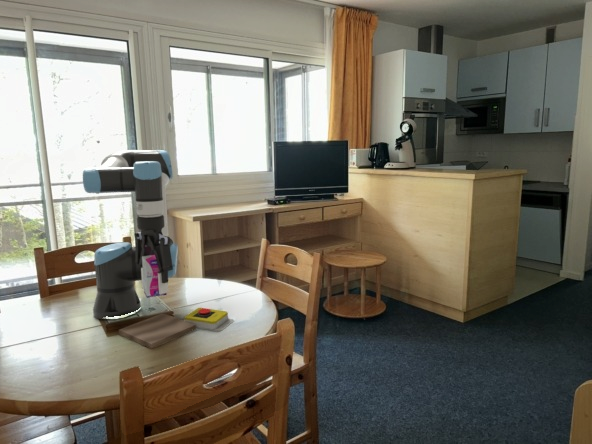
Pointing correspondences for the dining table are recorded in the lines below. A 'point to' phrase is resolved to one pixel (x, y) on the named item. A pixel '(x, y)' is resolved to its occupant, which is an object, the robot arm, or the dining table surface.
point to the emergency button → (209, 319)
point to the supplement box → (150, 276)
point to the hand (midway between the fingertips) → (155, 290)
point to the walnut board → (157, 330)
